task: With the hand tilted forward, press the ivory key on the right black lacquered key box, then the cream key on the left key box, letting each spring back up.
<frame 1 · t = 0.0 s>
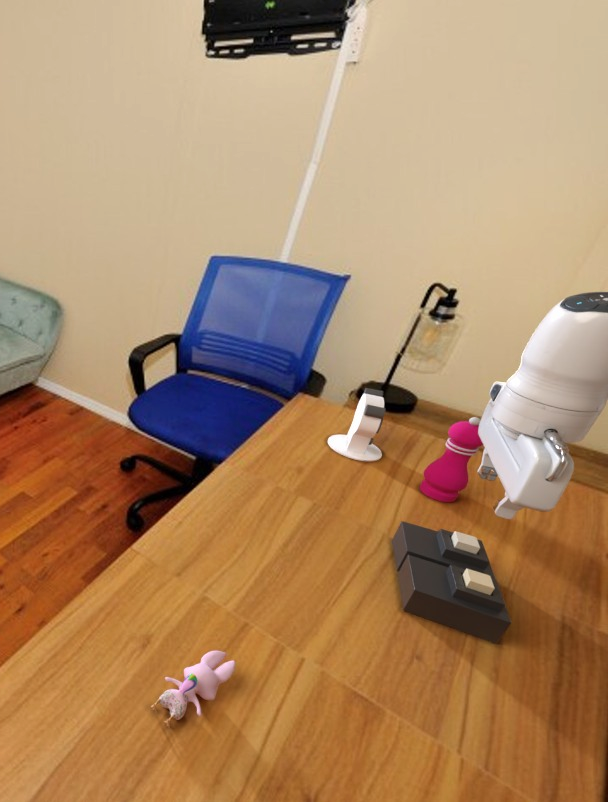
hand: (492, 495, 73), 27 cm above the table, tool pointing down, fingers open, 8 cm apart
high key: (477, 581, 83), point 7 cm above the table, slide at 0.1 cm
rabbit figure: (193, 693, 75), on the table
low key: (465, 542, 90), point 7 cm above the table, slide at 0.1 cm
low key box: (433, 567, 95), on the table
high key box: (443, 606, 87), on the table
pepper mill: (436, 493, 113), on the table
white curved stand: (353, 449, 129), on the table
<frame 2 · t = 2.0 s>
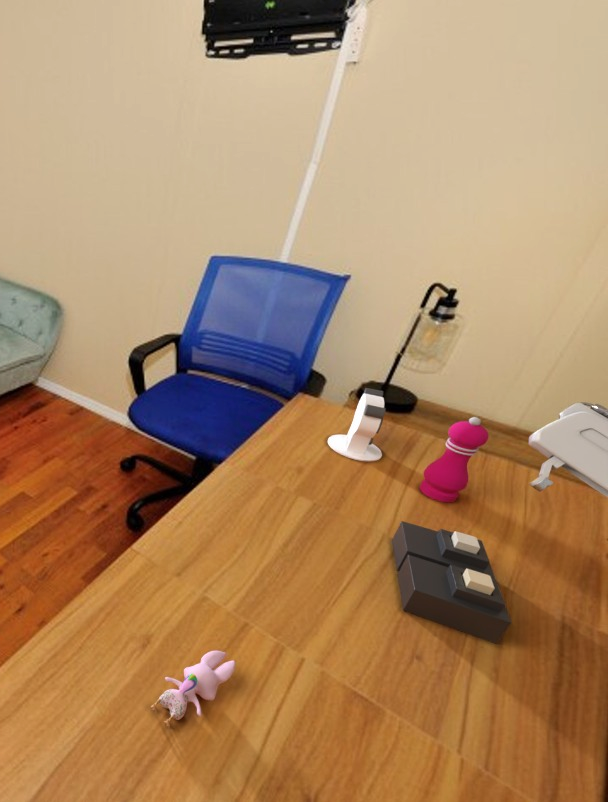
hand: (572, 514, 70), 27 cm above the table, tool tilted 45°, fingers open, 8 cm apart
nothing on the table moved.
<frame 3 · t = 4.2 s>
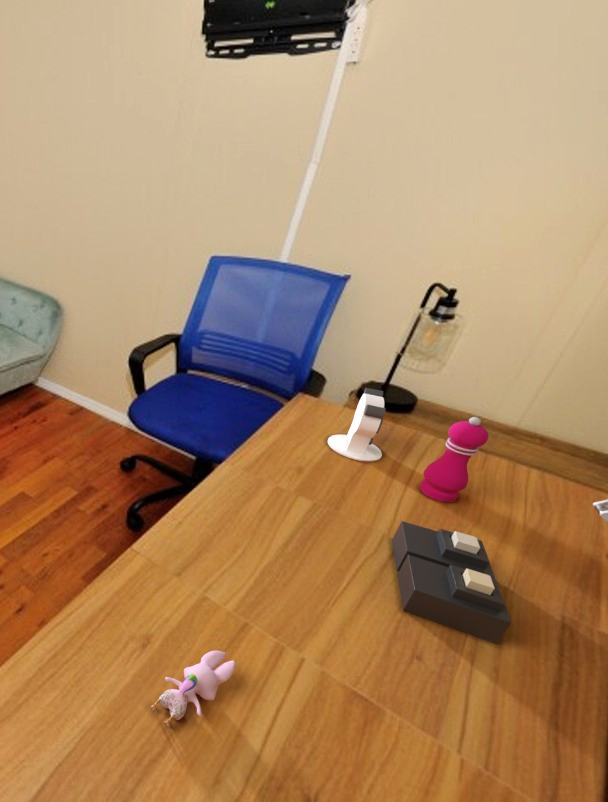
hand: (598, 513, 78), 20 cm above the table, tool tilted 45°, fingers closed
nothing on the table moved.
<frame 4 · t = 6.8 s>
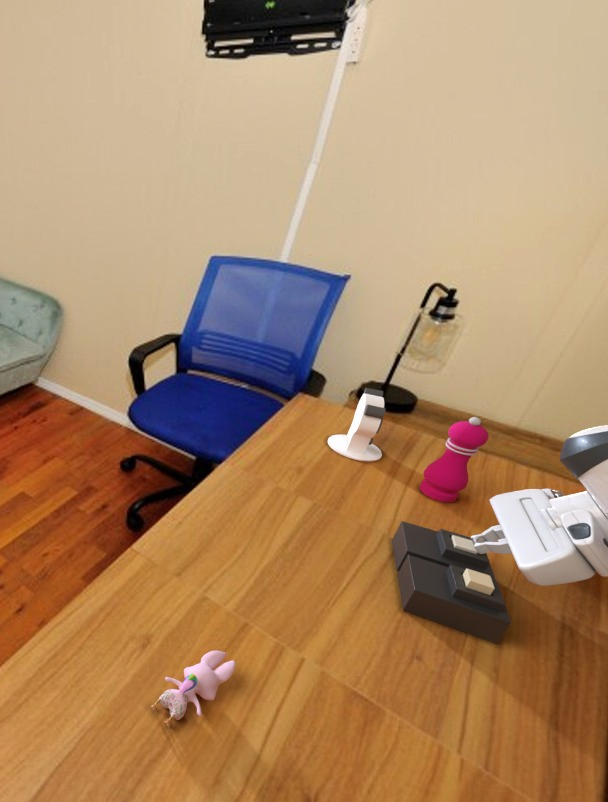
hand: (474, 545, 89), 8 cm above the table, tool tilted 45°, fingers closed, pressing on low key
low key: (462, 546, 91), point 7 cm above the table, slide at -0.9 cm, touching gripper
everything else where it was.
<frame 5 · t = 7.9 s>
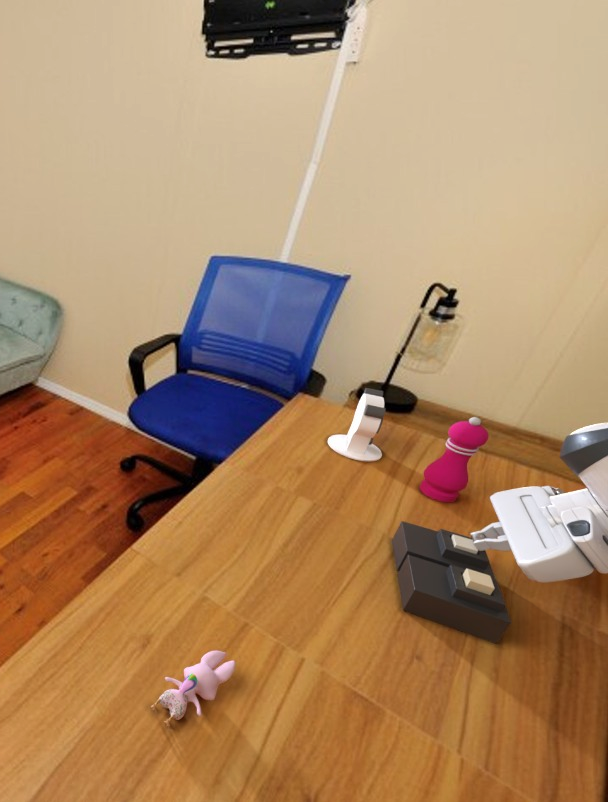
hand: (473, 542, 90), 8 cm above the table, tool tilted 45°, fingers closed, pressing on low key
low key: (463, 546, 91), point 7 cm above the table, slide at -0.7 cm, touching gripper
everything else where it was.
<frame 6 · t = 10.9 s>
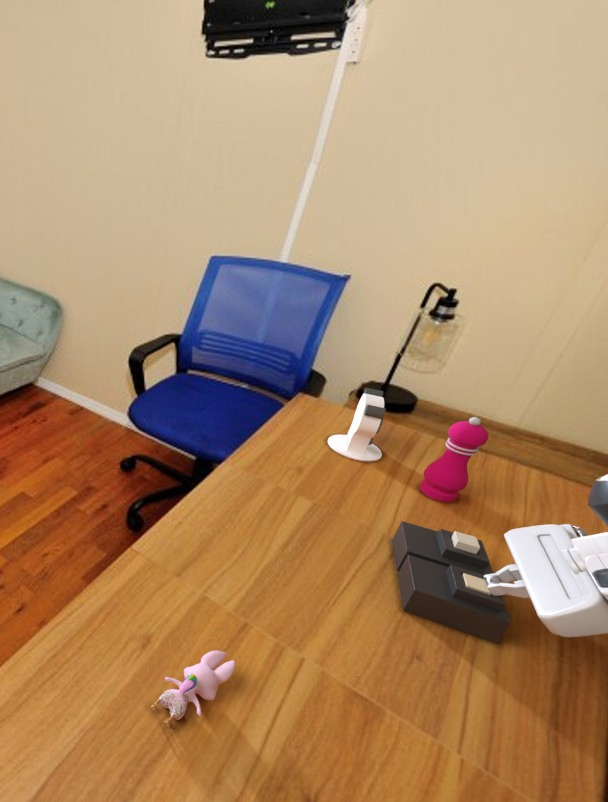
hand: (487, 585, 82), 8 cm above the table, tool tilted 45°, fingers closed, pressing on high key, high key box
high key: (474, 586, 83), point 6 cm above the table, slide at -1.0 cm, touching gripper
low key: (465, 542, 90), point 7 cm above the table, slide at 0.1 cm
everything else where it was.
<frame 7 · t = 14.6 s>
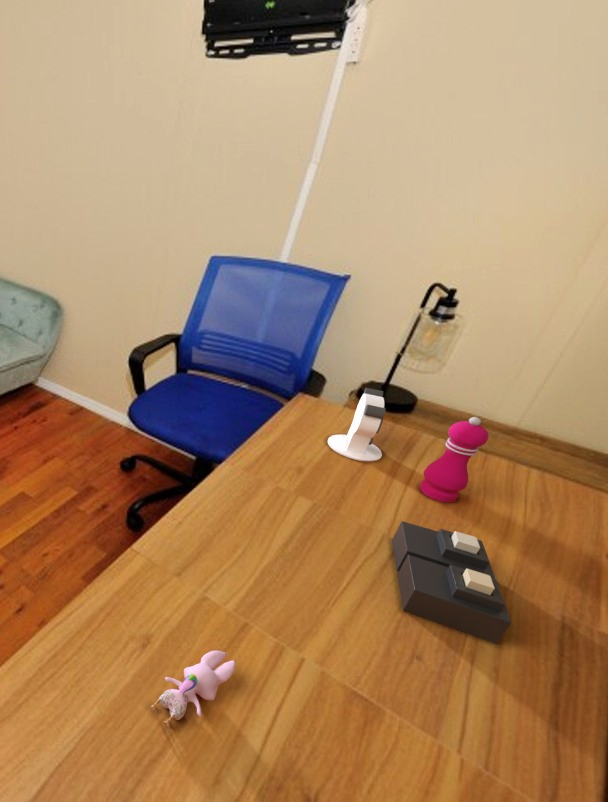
high key: (477, 581, 83), point 7 cm above the table, slide at 0.1 cm
everything else where it was.
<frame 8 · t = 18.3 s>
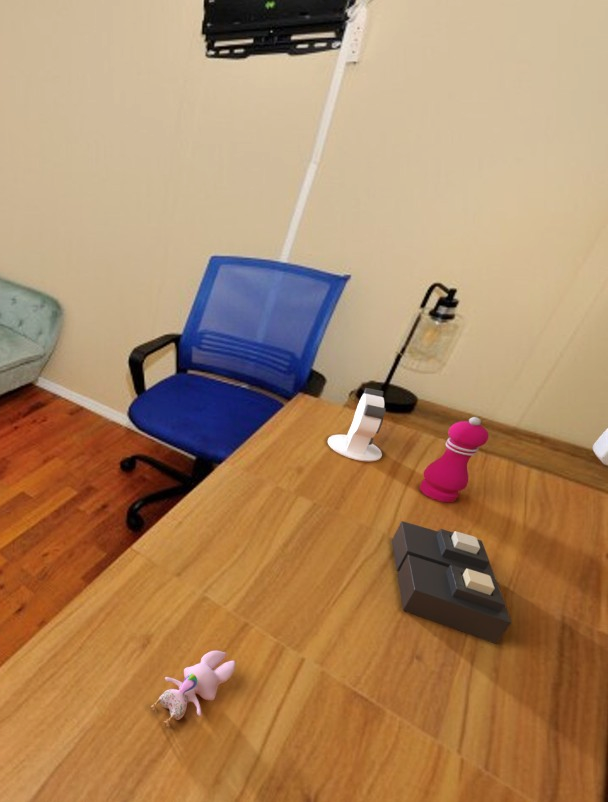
nothing on the table moved.
at the end: low key pushed in 1.3 cm at the most during the clip, back to where it started at the end; high key pushed in 1.3 cm at the most during the clip, back to where it started at the end; high key slide at 0.1 cm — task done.
